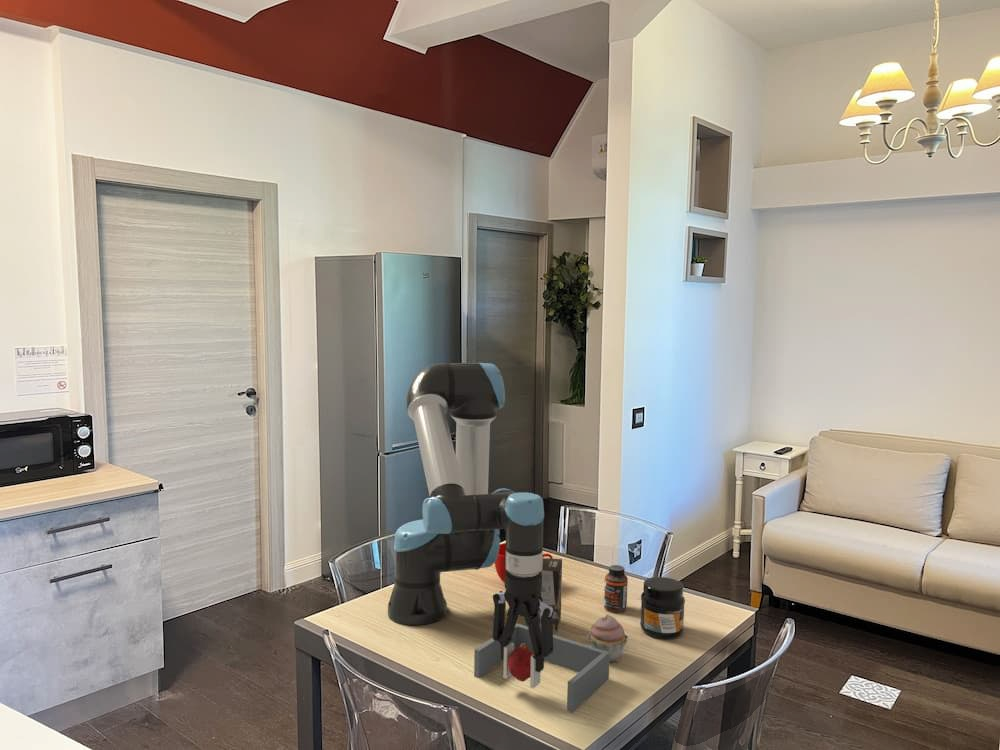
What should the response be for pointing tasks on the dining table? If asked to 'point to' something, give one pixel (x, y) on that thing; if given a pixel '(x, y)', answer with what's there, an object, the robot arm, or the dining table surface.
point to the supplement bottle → (615, 589)
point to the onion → (520, 663)
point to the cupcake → (608, 637)
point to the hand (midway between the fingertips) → (521, 679)
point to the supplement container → (662, 608)
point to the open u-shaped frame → (564, 654)
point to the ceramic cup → (501, 561)
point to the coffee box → (552, 589)
